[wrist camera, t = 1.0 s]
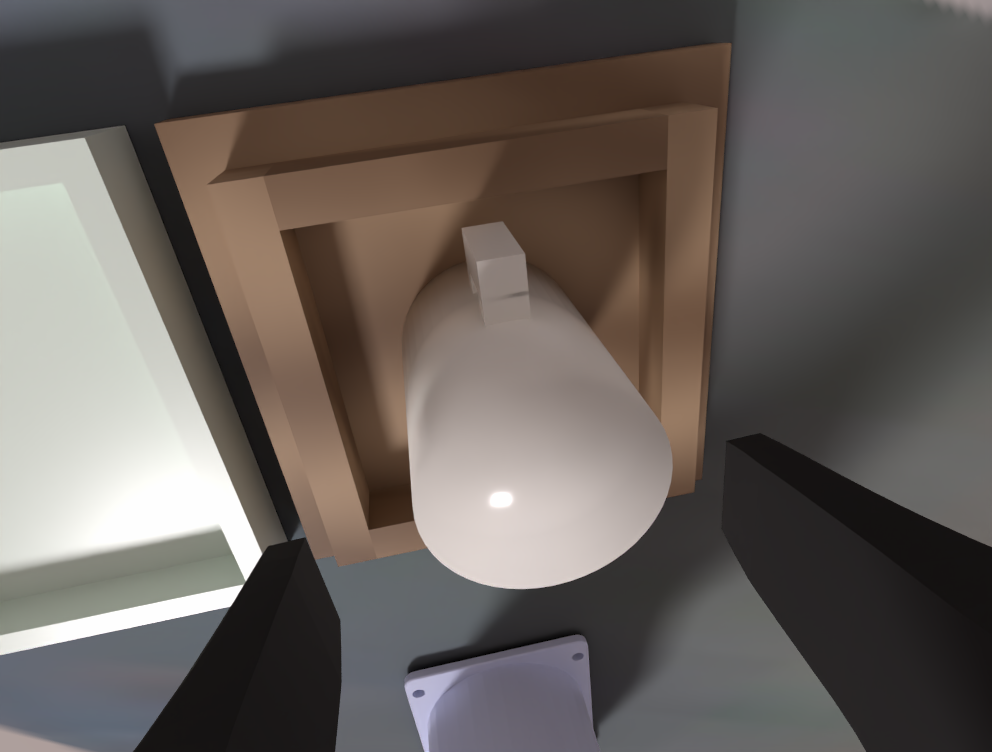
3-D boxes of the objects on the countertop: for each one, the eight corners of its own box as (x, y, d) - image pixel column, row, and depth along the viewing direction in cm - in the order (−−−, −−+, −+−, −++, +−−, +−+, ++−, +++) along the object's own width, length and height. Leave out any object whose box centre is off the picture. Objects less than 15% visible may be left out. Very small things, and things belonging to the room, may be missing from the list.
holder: (689, 463, 23) (726, 512, 20) (317, 539, 22) (309, 601, 19) (712, 42, 16) (772, 42, 14) (167, 119, 15) (125, 133, 12)
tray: (289, 545, 22) (280, 595, 20) (-38, 611, 21) (-83, 672, 19) (125, 125, 15) (84, 138, 13) (-381, 195, 14) (-510, 221, 12)
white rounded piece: (579, 399, 19) (668, 560, 13) (418, 430, 19) (436, 611, 13) (567, 192, 16) (679, 279, 10) (374, 222, 16) (369, 334, 10)
